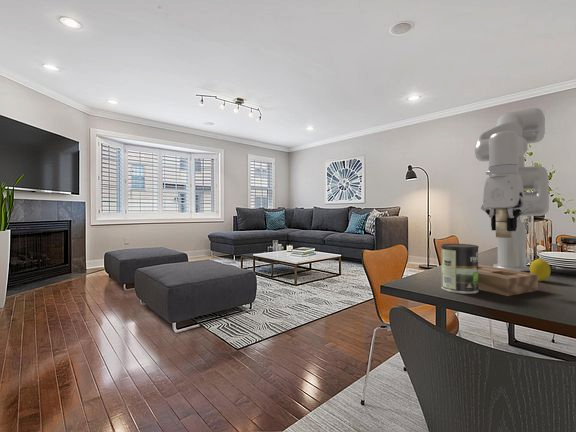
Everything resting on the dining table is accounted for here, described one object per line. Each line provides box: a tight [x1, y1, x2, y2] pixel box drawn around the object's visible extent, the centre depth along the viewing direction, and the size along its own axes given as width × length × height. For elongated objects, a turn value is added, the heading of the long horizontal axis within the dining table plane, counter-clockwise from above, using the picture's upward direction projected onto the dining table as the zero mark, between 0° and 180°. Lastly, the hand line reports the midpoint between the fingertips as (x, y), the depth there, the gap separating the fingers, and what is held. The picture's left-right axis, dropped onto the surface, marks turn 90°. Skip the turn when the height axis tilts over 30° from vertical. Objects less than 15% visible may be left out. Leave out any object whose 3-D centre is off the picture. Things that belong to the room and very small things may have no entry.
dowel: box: [495, 208, 511, 239], centre depth 94 cm, size 4×4×10 cm
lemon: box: [529, 257, 552, 282], centre depth 104 cm, size 6×6×8 cm
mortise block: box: [478, 264, 539, 297], centre depth 100 cm, size 14×22×6 cm, turn 22°
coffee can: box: [440, 243, 480, 295], centre depth 95 cm, size 10×10×14 cm
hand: (503, 230), depth 95 cm, fingers closed on dowel, 4 cm apart
